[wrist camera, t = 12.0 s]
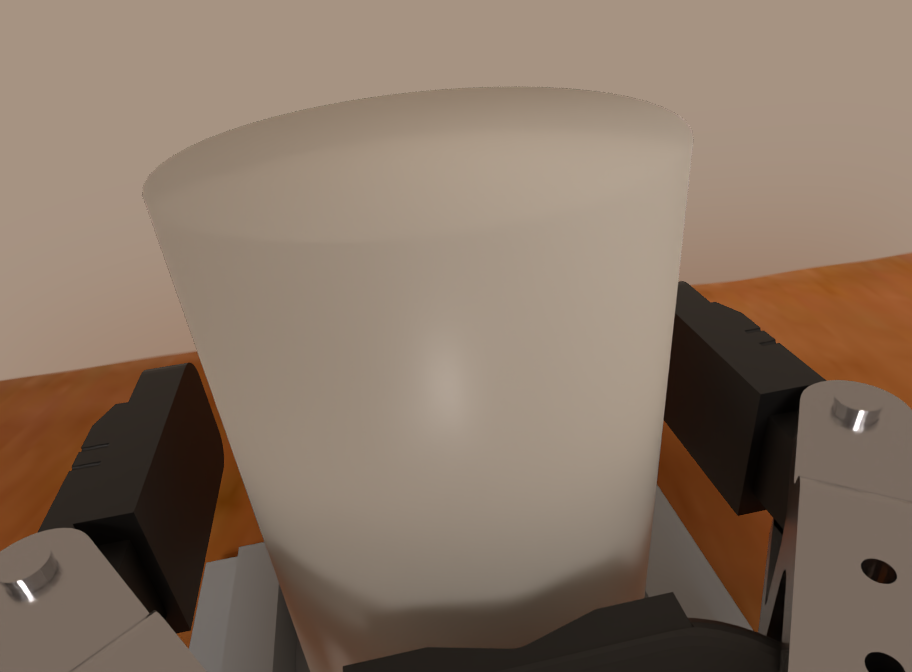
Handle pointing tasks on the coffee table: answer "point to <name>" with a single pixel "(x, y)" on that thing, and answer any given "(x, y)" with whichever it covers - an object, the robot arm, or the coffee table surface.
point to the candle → (438, 352)
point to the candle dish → (278, 647)
